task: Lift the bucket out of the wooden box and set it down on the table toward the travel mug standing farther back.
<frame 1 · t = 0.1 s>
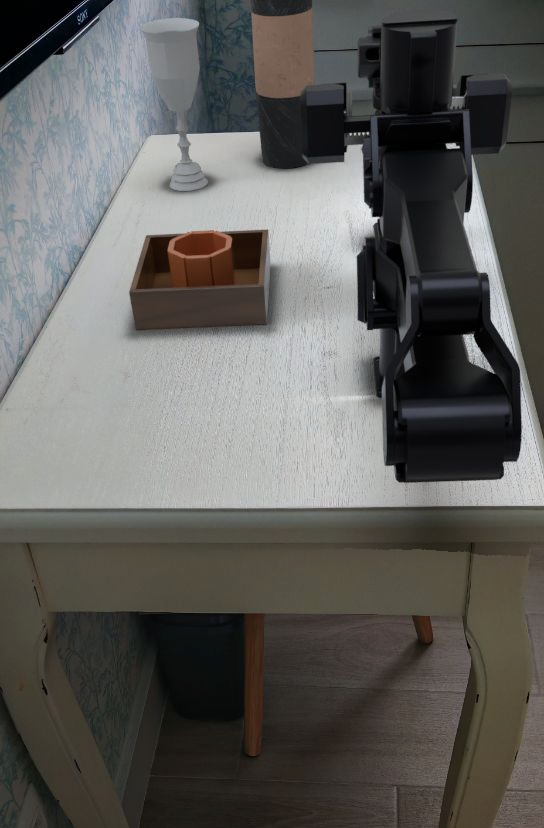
hand: (396, 92, 89), 17 cm above the table, tool horizontal, fingers open, 9 cm apart
chalice: (188, 184, 120), on the table
wooden box: (206, 300, 96), on the table
travel mug: (288, 160, 124), on the table
bucket: (206, 296, 96), resting on wooden box
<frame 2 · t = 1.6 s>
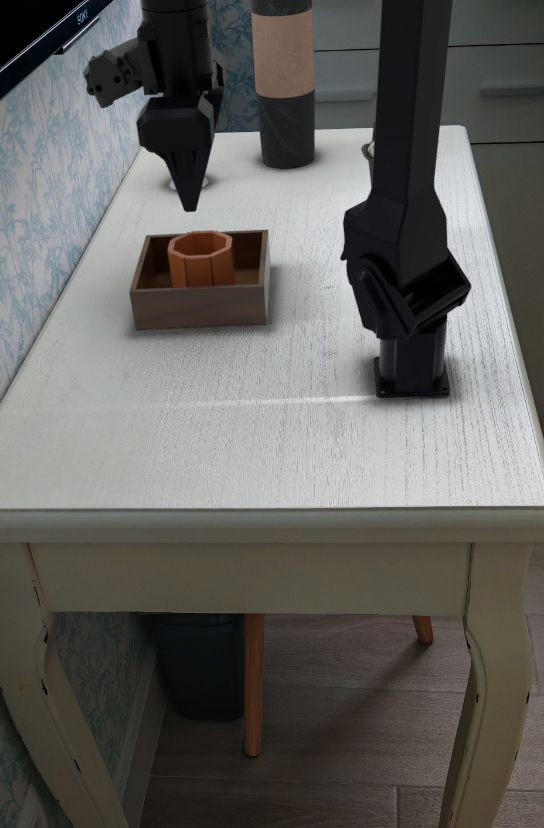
hand: (195, 191, 89), 11 cm above the table, tool pointing down, fingers open, 9 cm apart
nothing on the table moved.
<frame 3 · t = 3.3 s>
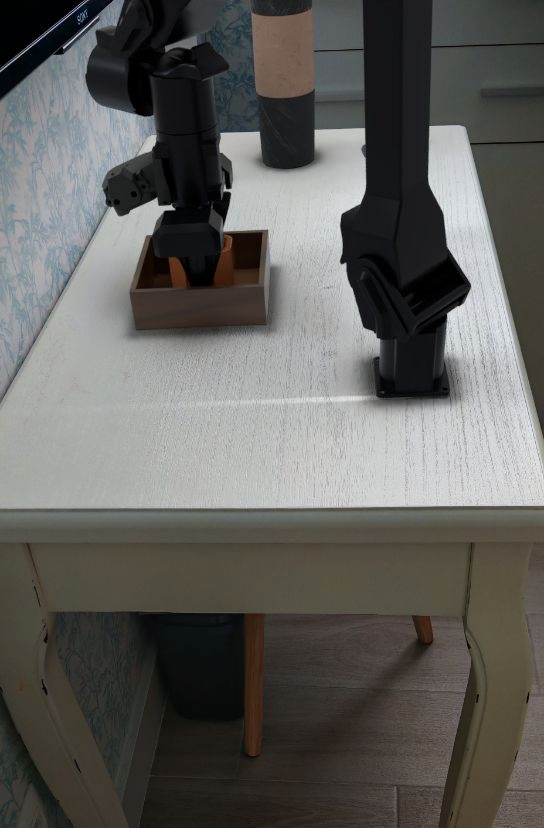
hand: (205, 285, 95), 2 cm above the table, tool pointing down, fingers closed on bucket, 6 cm apart
bucket: (206, 296, 96), point 1 cm above the table, touching wooden box, gripper
everything else where it was.
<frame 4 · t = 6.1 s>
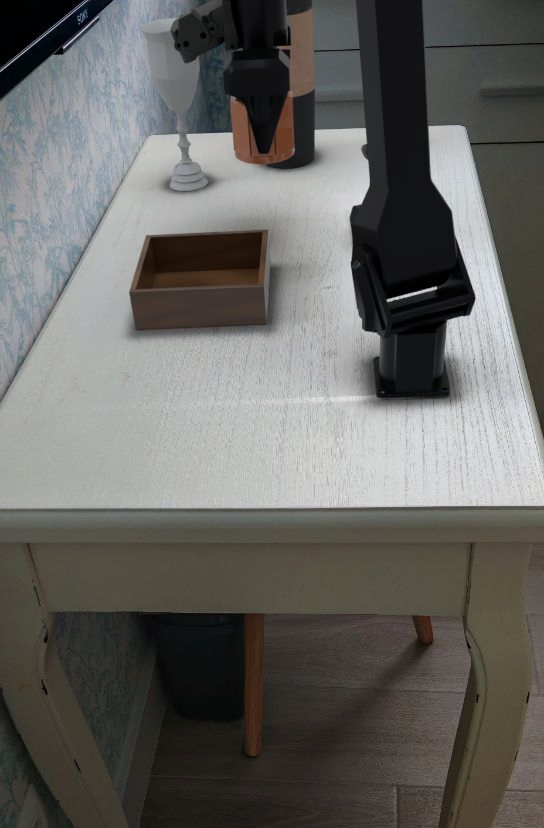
hand: (264, 141, 97), 11 cm above the table, tool pointing down, fingers closed on bucket, 6 cm apart
bucket: (264, 153, 98), point 10 cm above the table, touching gripper
everything else where it was.
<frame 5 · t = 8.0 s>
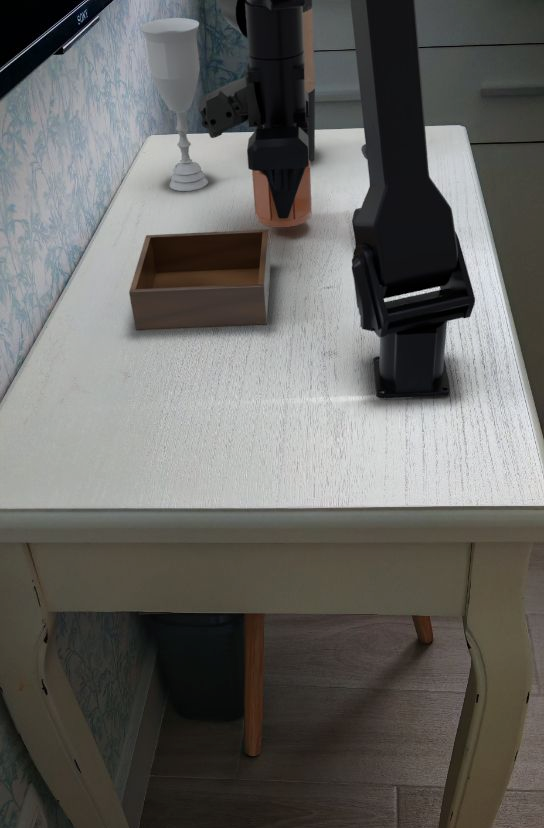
hand: (283, 206, 105), 3 cm above the table, tool pointing down, fingers closed on bucket, 6 cm apart
bucket: (283, 216, 106), point 2 cm above the table, touching gripper
everything else where it was.
when the fingers open (1 cm above the table, at t = 9.2 s): bucket stays where it is, on the table.
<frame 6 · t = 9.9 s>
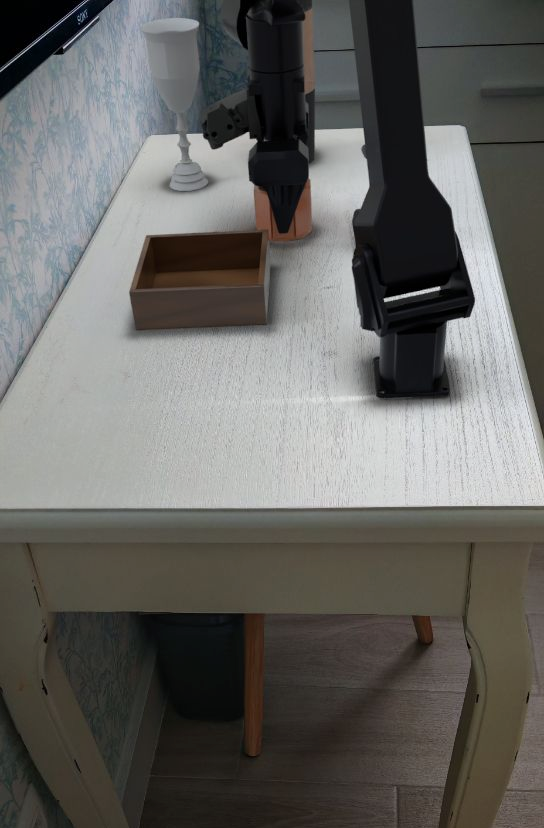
hand: (284, 216, 106), 2 cm above the table, tool pointing down, fingers open, 9 cm apart
bucket: (284, 233, 107), on the table
everything else where it was.
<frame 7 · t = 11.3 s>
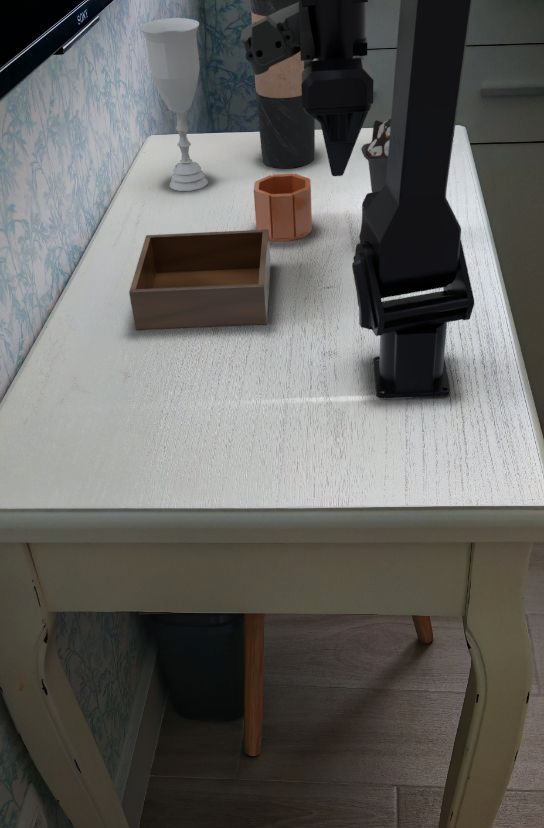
hand: (336, 158, 91), 12 cm above the table, tool pointing down, fingers open, 9 cm apart
nothing on the table moved.
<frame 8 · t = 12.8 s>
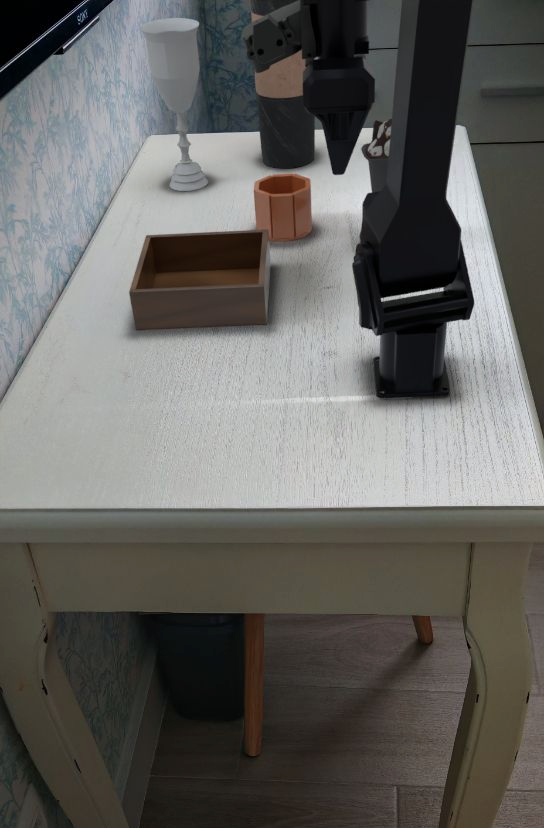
hand: (337, 156, 91), 12 cm above the table, tool pointing down, fingers open, 9 cm apart
nothing on the table moved.
at the end: bucket inside the target area (0.1 cm from its centre), on the table; bucket 24.1 cm from the travel mug (horizontally); bucket tilted 0° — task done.
